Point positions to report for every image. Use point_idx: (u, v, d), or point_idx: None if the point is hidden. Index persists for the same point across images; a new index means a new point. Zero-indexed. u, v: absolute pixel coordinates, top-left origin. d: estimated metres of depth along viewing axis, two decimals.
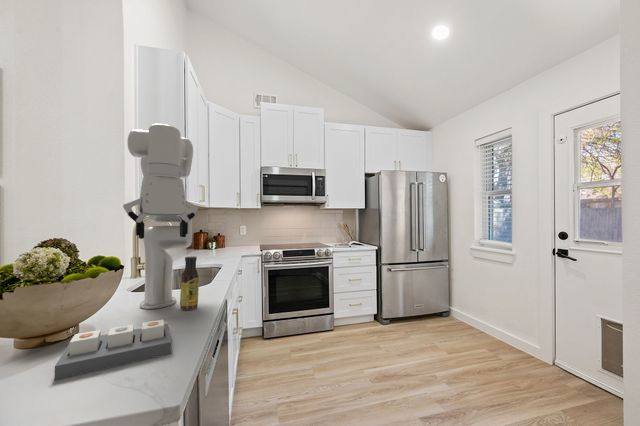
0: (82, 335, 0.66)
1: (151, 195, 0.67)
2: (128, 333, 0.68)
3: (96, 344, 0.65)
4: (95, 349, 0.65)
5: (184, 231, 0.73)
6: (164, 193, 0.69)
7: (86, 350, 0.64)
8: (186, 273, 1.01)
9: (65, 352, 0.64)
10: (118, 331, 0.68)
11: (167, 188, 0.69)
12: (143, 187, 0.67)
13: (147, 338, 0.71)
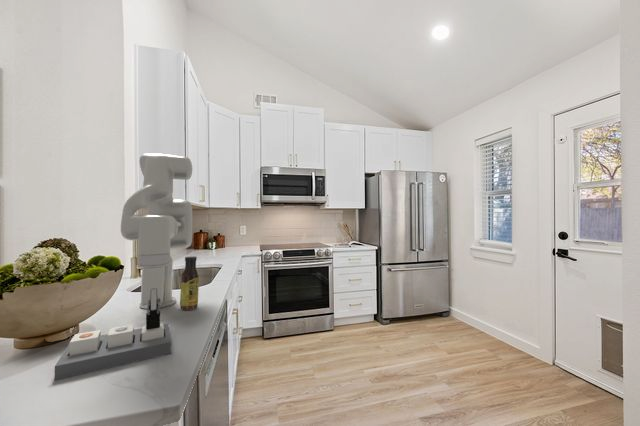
0: (82, 335, 0.66)
1: (163, 284, 0.72)
2: (128, 333, 0.68)
3: (96, 344, 0.65)
4: (95, 349, 0.65)
5: None
6: (164, 279, 0.74)
7: (86, 350, 0.64)
8: (186, 273, 1.01)
9: (65, 352, 0.64)
10: (118, 331, 0.68)
11: None
12: (158, 279, 0.70)
13: None
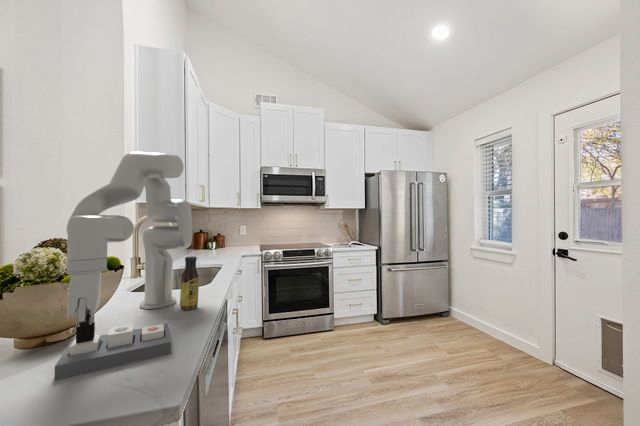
0: None
1: (96, 293, 0.64)
2: (128, 333, 0.68)
3: (96, 349, 0.65)
4: None
5: (94, 332, 0.67)
6: (99, 287, 0.67)
7: None
8: (186, 273, 1.01)
9: (65, 352, 0.64)
10: (118, 331, 0.68)
11: (99, 281, 0.68)
12: (88, 287, 0.63)
13: None
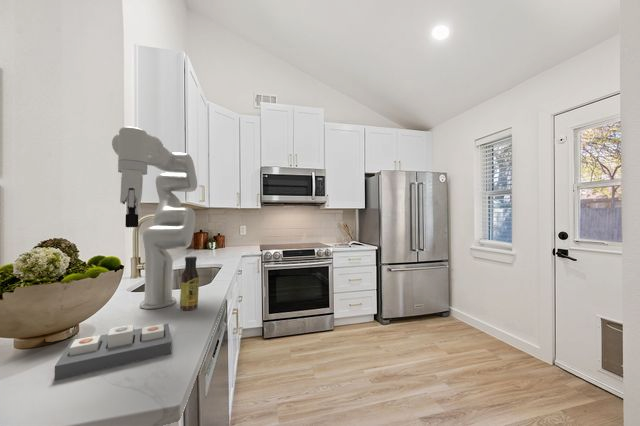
0: (82, 340, 0.66)
1: (141, 188, 0.82)
2: (128, 333, 0.68)
3: (96, 349, 0.65)
4: None
5: None
6: None
7: None
8: (186, 273, 1.01)
9: (65, 352, 0.64)
10: (118, 331, 0.68)
11: (141, 182, 0.85)
12: (136, 180, 0.80)
13: None
